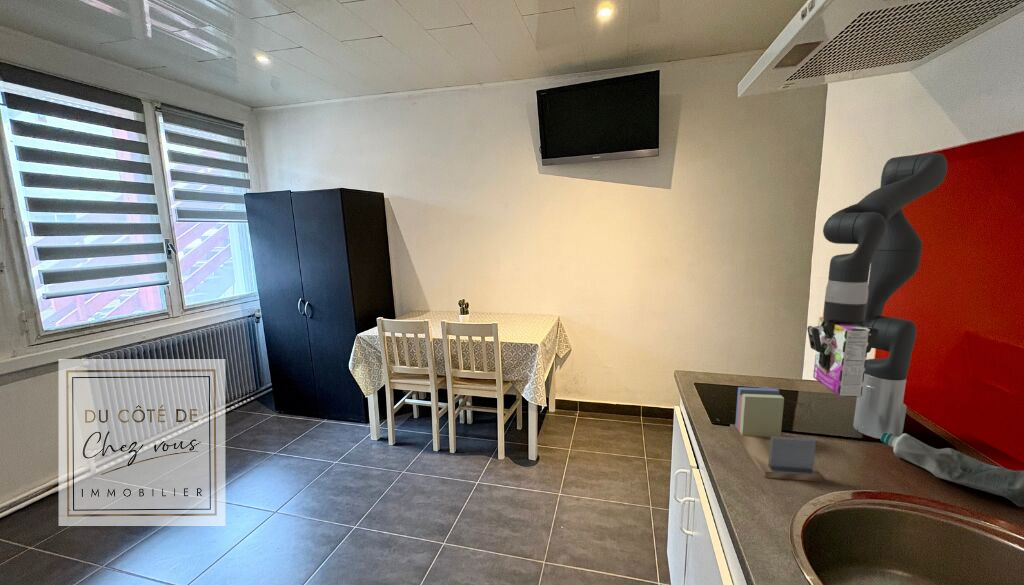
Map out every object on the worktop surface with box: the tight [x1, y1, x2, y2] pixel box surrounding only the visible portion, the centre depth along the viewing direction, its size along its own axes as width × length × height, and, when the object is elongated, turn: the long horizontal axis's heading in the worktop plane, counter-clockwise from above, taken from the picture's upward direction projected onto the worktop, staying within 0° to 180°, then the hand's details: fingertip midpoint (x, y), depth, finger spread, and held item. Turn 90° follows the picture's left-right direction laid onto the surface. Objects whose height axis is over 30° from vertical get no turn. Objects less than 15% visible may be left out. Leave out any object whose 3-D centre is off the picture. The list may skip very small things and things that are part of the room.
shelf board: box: [729, 423, 823, 482], centre depth 101 cm, size 12×22×2 cm, turn 170°
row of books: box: [734, 386, 785, 437], centre depth 108 cm, size 10×5×12 cm, turn 80°
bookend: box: [768, 436, 817, 475], centre depth 91 cm, size 9×2×8 cm, turn 80°
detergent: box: [880, 432, 1024, 508], centre depth 90 cm, size 13×7×25 cm
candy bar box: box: [812, 316, 870, 398], centre depth 93 cm, size 11×5×16 cm, turn 168°
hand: (837, 367), depth 93 cm, fingers closed on candy bar box, 5 cm apart
